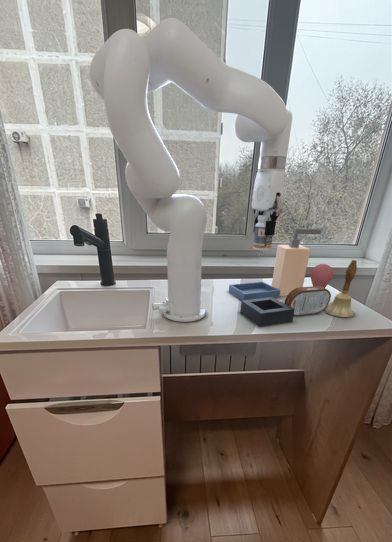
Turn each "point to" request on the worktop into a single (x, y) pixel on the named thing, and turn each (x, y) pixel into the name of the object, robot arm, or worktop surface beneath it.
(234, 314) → the worktop surface
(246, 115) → the robot arm
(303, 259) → the soap dispenser
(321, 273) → the light bulb
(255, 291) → the tray
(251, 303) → the socket base
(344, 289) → the hand bell
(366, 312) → the worktop surface
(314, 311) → the tin
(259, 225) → the pill bottle
